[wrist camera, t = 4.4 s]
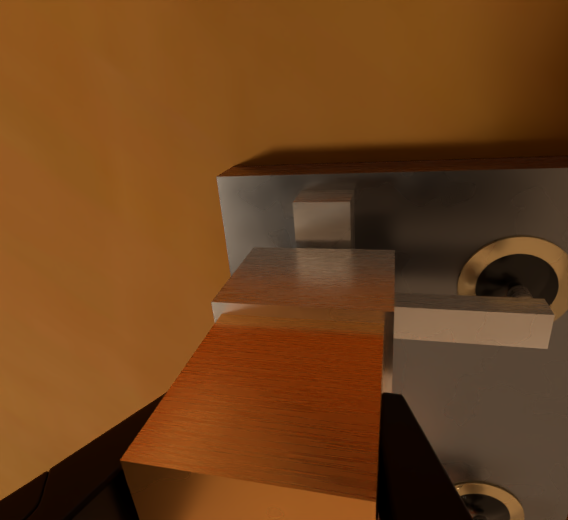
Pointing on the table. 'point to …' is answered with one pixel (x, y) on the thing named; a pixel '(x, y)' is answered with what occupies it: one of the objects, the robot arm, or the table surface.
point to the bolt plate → (448, 281)
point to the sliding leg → (300, 387)
